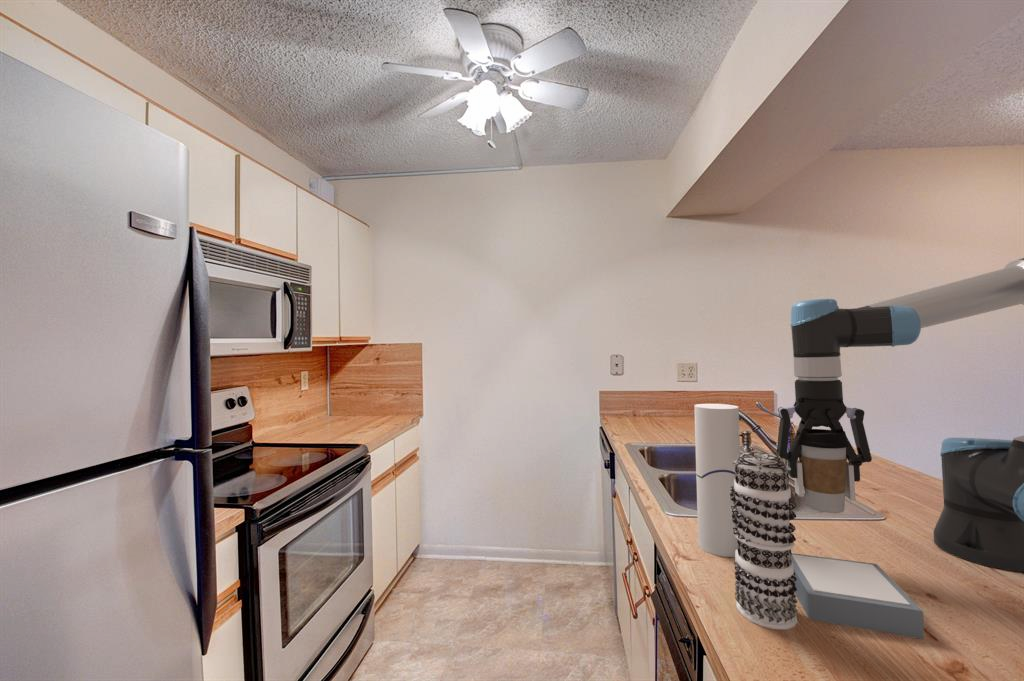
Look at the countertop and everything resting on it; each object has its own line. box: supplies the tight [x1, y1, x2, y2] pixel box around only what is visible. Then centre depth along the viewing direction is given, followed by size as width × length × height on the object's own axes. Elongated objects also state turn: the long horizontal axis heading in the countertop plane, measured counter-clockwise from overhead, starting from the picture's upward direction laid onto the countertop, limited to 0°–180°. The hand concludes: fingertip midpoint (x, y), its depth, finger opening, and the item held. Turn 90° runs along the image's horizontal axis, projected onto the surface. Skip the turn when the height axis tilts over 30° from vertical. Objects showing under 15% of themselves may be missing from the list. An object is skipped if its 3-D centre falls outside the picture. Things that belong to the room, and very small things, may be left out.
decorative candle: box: [730, 451, 799, 630], centre depth 67 cm, size 9×9×25 cm
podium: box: [791, 552, 925, 640], centre depth 69 cm, size 14×14×4 cm
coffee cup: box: [795, 428, 848, 514], centre depth 81 cm, size 8×8×15 cm
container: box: [693, 403, 741, 558], centre depth 89 cm, size 9×9×30 cm
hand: (824, 495), depth 81 cm, fingers closed on coffee cup, 7 cm apart
